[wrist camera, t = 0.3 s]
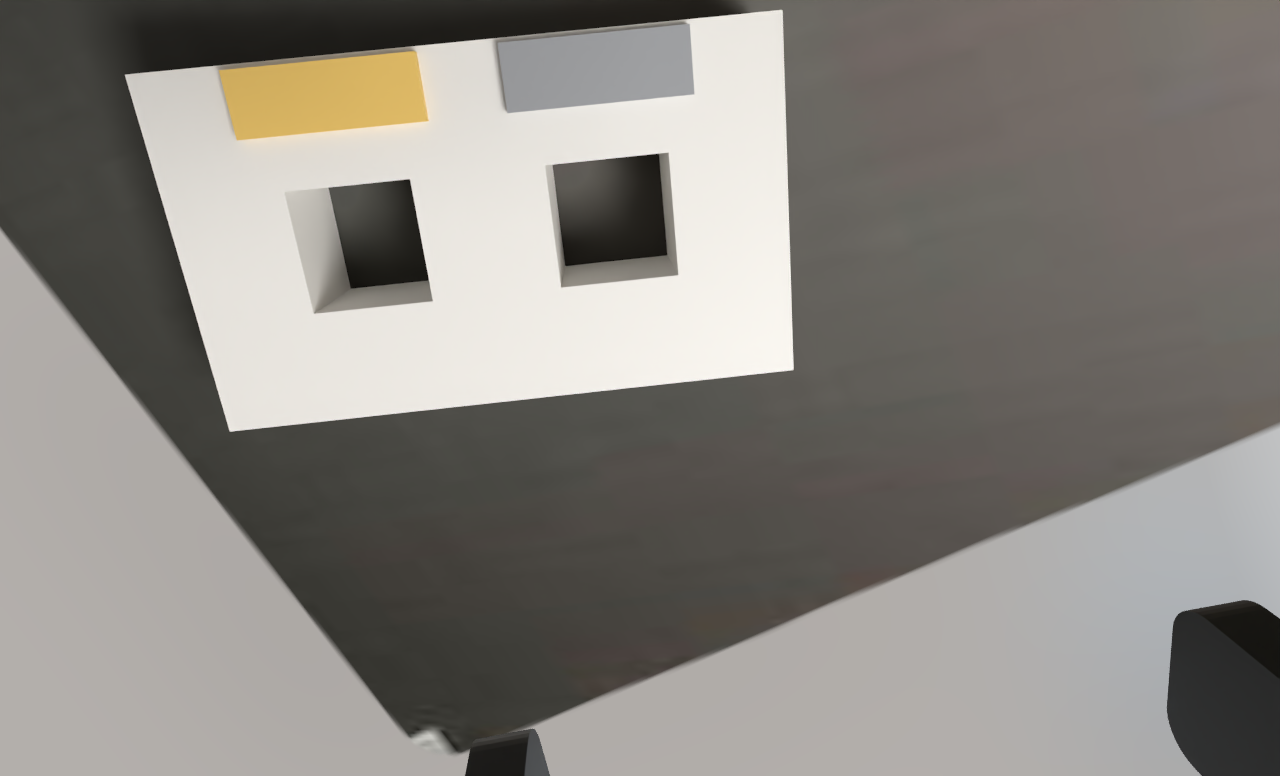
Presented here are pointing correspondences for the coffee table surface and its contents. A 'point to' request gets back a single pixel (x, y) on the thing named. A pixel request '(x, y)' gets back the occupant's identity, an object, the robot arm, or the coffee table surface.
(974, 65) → the coffee table surface
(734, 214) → the port panel
